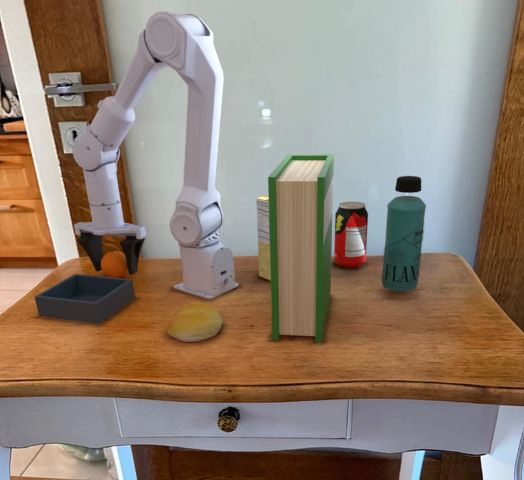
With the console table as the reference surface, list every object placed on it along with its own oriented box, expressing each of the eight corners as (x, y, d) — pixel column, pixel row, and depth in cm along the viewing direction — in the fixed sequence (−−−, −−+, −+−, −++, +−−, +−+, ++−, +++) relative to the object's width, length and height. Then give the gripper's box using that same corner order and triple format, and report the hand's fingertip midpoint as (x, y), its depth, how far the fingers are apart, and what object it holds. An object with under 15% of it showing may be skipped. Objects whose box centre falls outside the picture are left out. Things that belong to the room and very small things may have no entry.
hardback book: (321, 342, 82) (324, 177, 71) (272, 339, 84) (268, 177, 72) (330, 296, 98) (334, 154, 86) (288, 295, 99) (287, 154, 88)
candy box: (292, 265, 113) (291, 189, 105) (306, 270, 110) (306, 192, 102) (258, 276, 108) (254, 197, 100) (272, 282, 105) (269, 200, 98)
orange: (137, 275, 110) (132, 248, 107) (115, 284, 107) (109, 256, 104) (120, 271, 113) (114, 244, 111) (98, 279, 110) (92, 251, 107)
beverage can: (364, 258, 115) (367, 200, 109) (366, 269, 109) (369, 208, 103) (333, 259, 115) (335, 201, 110) (334, 269, 110) (336, 208, 104)
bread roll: (162, 343, 84) (158, 319, 82) (180, 318, 92) (177, 295, 90) (214, 345, 83) (212, 321, 81) (228, 320, 90) (226, 297, 88)
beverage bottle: (376, 297, 97) (384, 180, 87) (384, 283, 102) (392, 172, 93) (414, 301, 94) (427, 181, 85) (420, 287, 100) (432, 173, 90)
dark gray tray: (135, 299, 100) (132, 279, 98) (100, 325, 90) (96, 303, 89) (78, 292, 103) (74, 273, 102) (39, 317, 94) (34, 296, 92)
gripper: (59, 205, 102) (73, 275, 108) (127, 209, 97) (138, 281, 104) (81, 197, 108) (94, 263, 114) (147, 200, 103) (156, 269, 110)
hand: (116, 271), depth 109 cm, fingers open, 7 cm apart
